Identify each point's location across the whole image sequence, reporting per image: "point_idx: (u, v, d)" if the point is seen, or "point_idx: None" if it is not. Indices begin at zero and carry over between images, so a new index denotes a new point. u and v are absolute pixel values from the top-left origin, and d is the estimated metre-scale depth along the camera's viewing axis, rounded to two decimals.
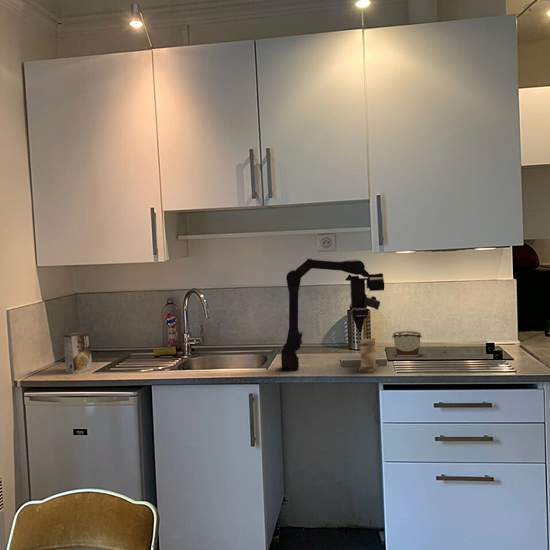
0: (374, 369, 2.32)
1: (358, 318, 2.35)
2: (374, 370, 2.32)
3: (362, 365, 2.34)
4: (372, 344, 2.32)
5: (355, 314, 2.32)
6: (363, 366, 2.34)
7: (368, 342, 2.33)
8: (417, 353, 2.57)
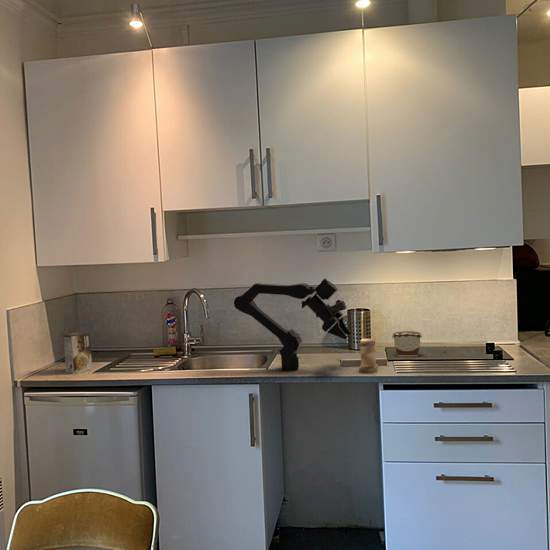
0: (374, 369, 2.32)
1: (334, 329, 2.33)
2: (374, 370, 2.32)
3: (362, 365, 2.34)
4: (372, 344, 2.32)
5: (326, 329, 2.30)
6: (363, 366, 2.34)
7: (368, 342, 2.33)
8: (417, 353, 2.57)
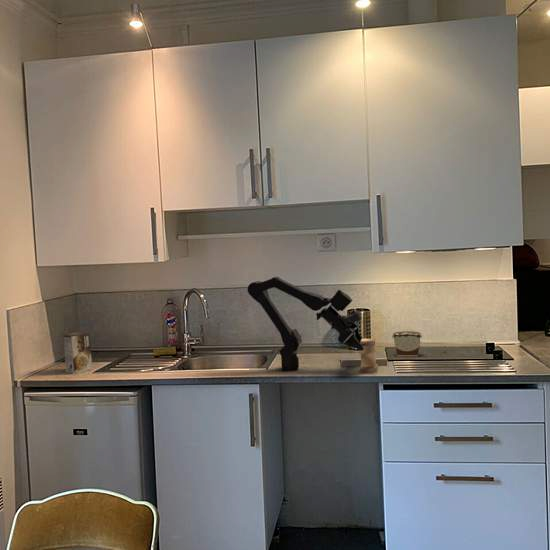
0: (374, 369, 2.32)
1: (350, 340, 2.31)
2: (374, 370, 2.32)
3: (362, 365, 2.34)
4: (372, 344, 2.32)
5: (342, 341, 2.29)
6: (363, 366, 2.34)
7: (368, 342, 2.33)
8: (417, 353, 2.57)
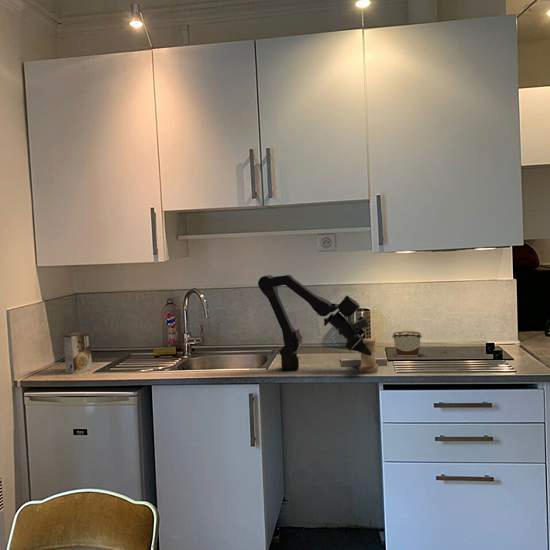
0: (374, 369, 2.32)
1: (358, 346, 2.32)
2: (374, 370, 2.32)
3: (362, 365, 2.34)
4: (372, 344, 2.32)
5: (350, 347, 2.28)
6: (363, 366, 2.34)
7: (368, 342, 2.33)
8: (417, 353, 2.57)
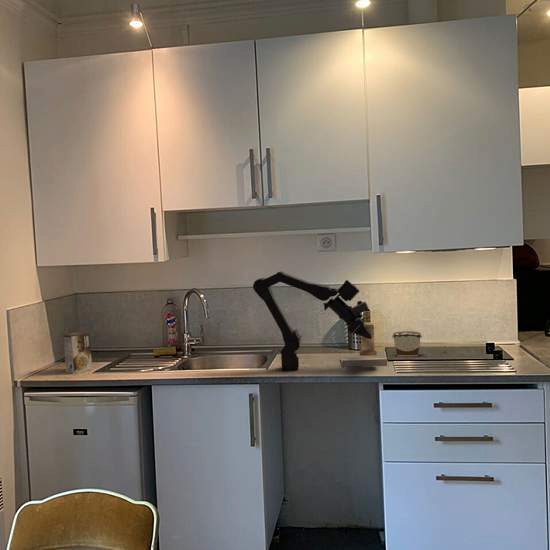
0: (374, 352, 2.36)
1: (359, 329, 2.35)
2: (374, 353, 2.36)
3: (362, 348, 2.37)
4: (372, 327, 2.36)
5: (352, 330, 2.30)
6: (363, 349, 2.37)
7: (368, 325, 2.36)
8: (417, 353, 2.57)
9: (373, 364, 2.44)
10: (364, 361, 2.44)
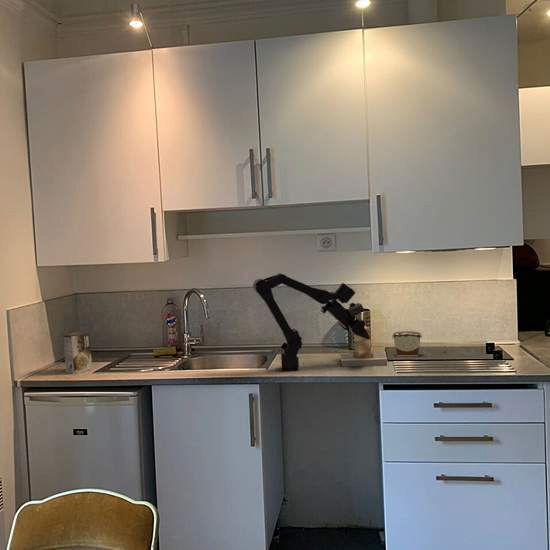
0: (371, 354, 2.47)
1: (359, 331, 2.43)
2: (371, 355, 2.47)
3: (360, 352, 2.47)
4: (369, 331, 2.47)
5: (356, 331, 2.39)
6: (361, 352, 2.47)
7: (365, 329, 2.47)
8: (417, 353, 2.57)
9: (373, 364, 2.44)
10: (364, 361, 2.44)
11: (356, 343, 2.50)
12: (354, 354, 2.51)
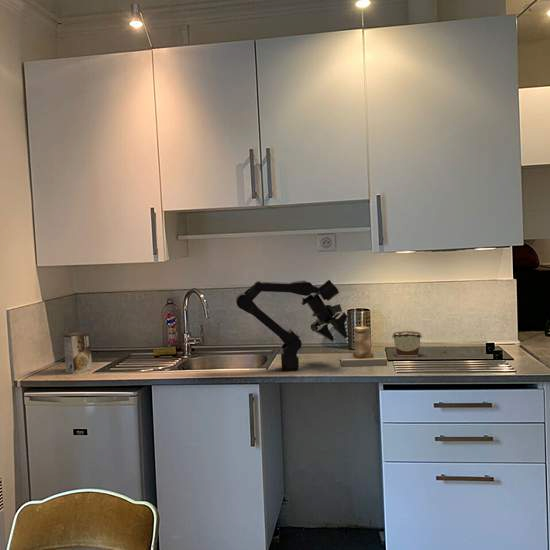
0: (371, 354, 2.47)
1: (339, 326, 2.40)
2: (371, 355, 2.47)
3: (360, 352, 2.47)
4: (369, 331, 2.47)
5: (340, 322, 2.36)
6: (361, 352, 2.47)
7: (365, 329, 2.47)
8: (417, 353, 2.57)
9: (373, 364, 2.44)
10: (364, 361, 2.44)
11: (356, 343, 2.50)
12: (354, 354, 2.51)
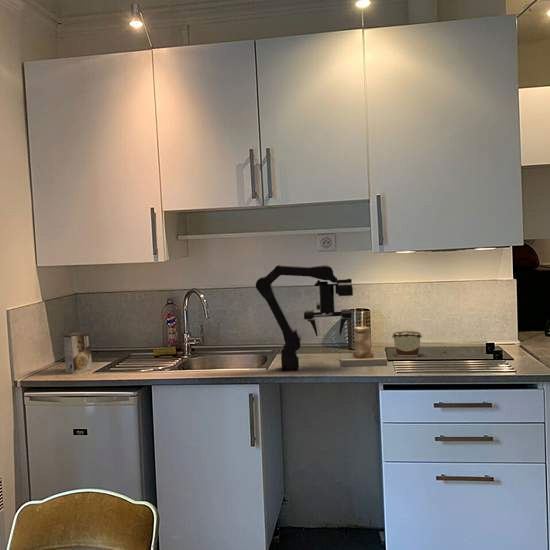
0: (371, 354, 2.47)
1: None
2: (371, 355, 2.47)
3: (360, 352, 2.47)
4: (369, 331, 2.47)
5: None
6: (361, 352, 2.47)
7: (365, 329, 2.47)
8: (417, 353, 2.57)
9: (373, 364, 2.44)
10: (364, 361, 2.44)
11: (356, 343, 2.50)
12: (354, 354, 2.51)
